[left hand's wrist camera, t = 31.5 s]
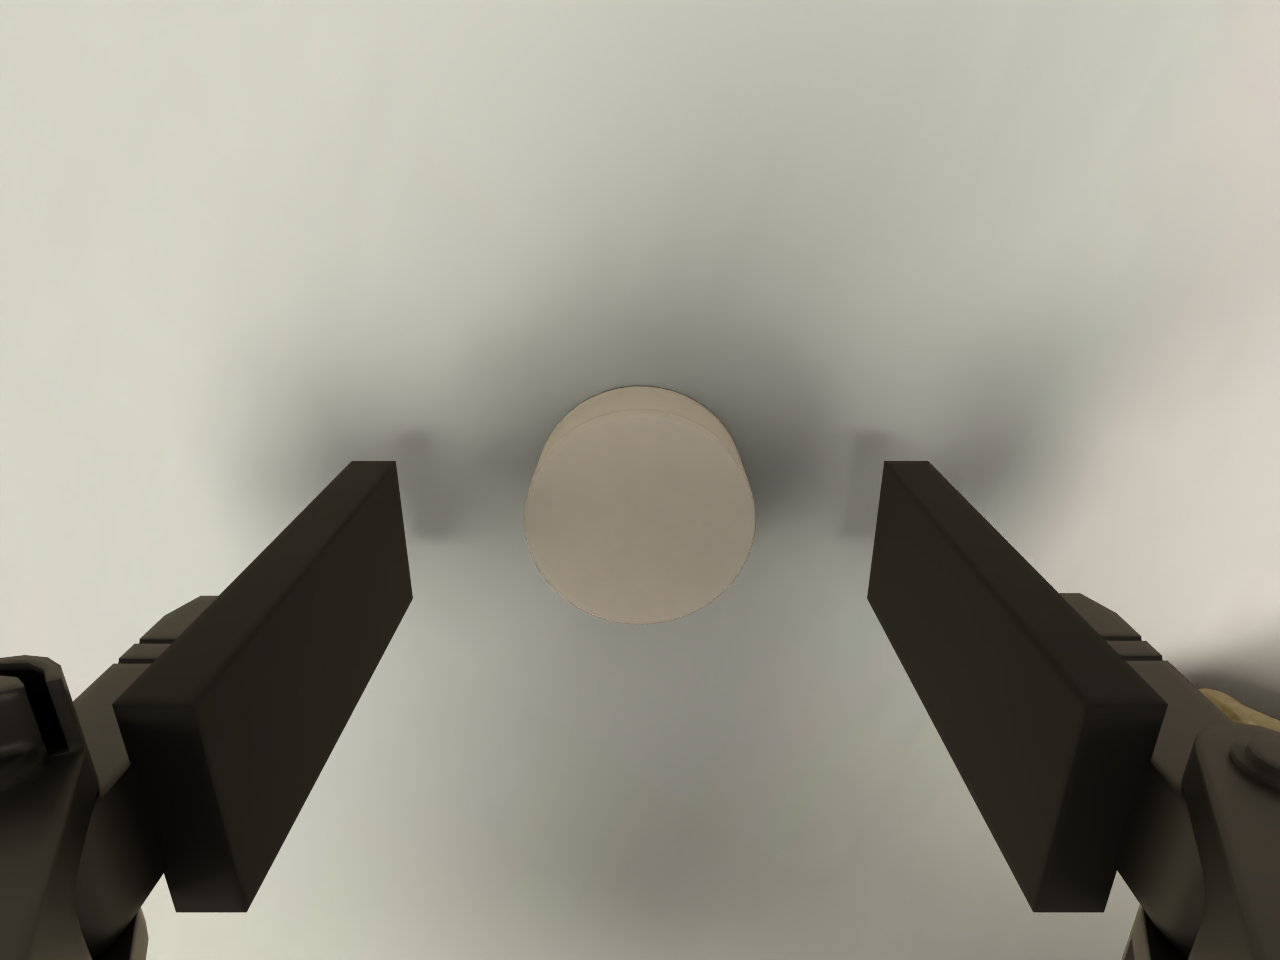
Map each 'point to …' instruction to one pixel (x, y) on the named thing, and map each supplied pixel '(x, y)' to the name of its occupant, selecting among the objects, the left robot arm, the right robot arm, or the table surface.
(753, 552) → the table surface
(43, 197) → the table surface
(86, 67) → the table surface
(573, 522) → the cap
